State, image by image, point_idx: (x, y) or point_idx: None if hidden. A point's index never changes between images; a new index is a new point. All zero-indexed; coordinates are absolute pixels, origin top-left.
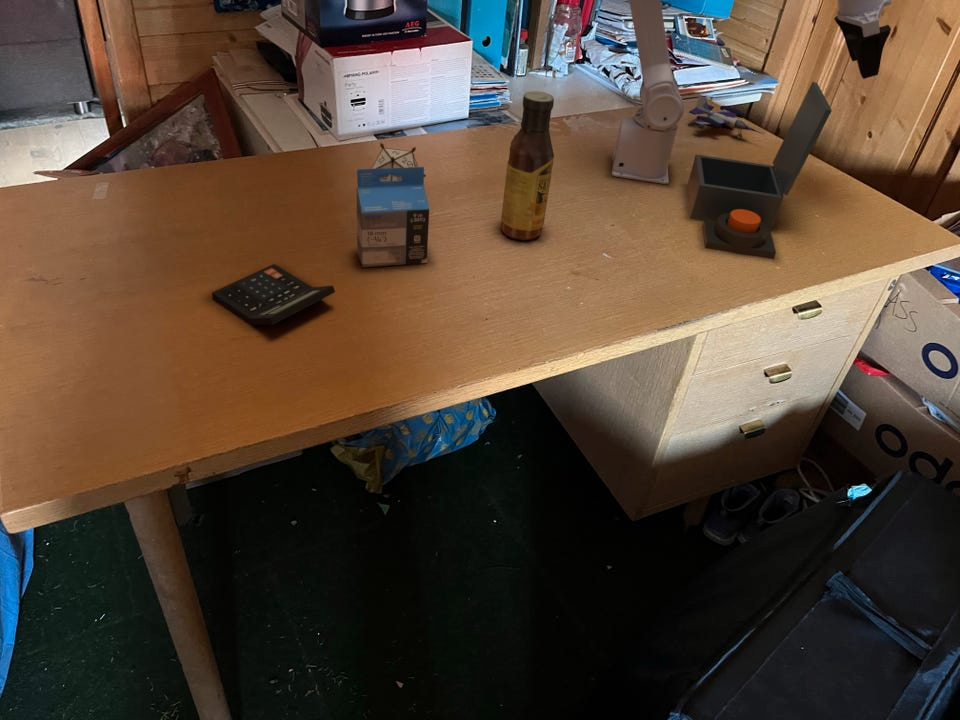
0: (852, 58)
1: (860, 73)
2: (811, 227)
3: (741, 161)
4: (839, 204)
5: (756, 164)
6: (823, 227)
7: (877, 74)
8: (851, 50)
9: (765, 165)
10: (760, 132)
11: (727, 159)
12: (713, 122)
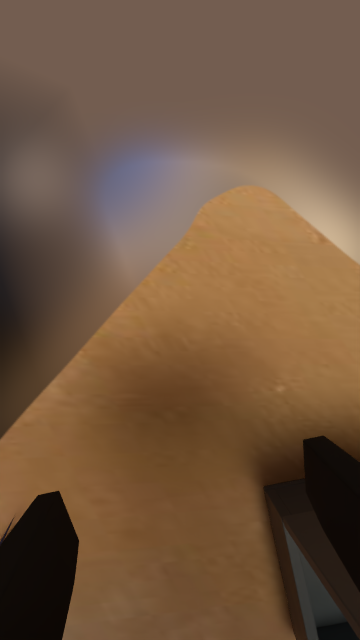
0: (73, 556)
1: (319, 516)
2: (329, 396)
3: (300, 593)
4: (211, 351)
5: (297, 557)
6: (318, 377)
7: (324, 437)
8: (61, 612)
9: (290, 537)
10: (5, 532)
11: (307, 626)
12: None
